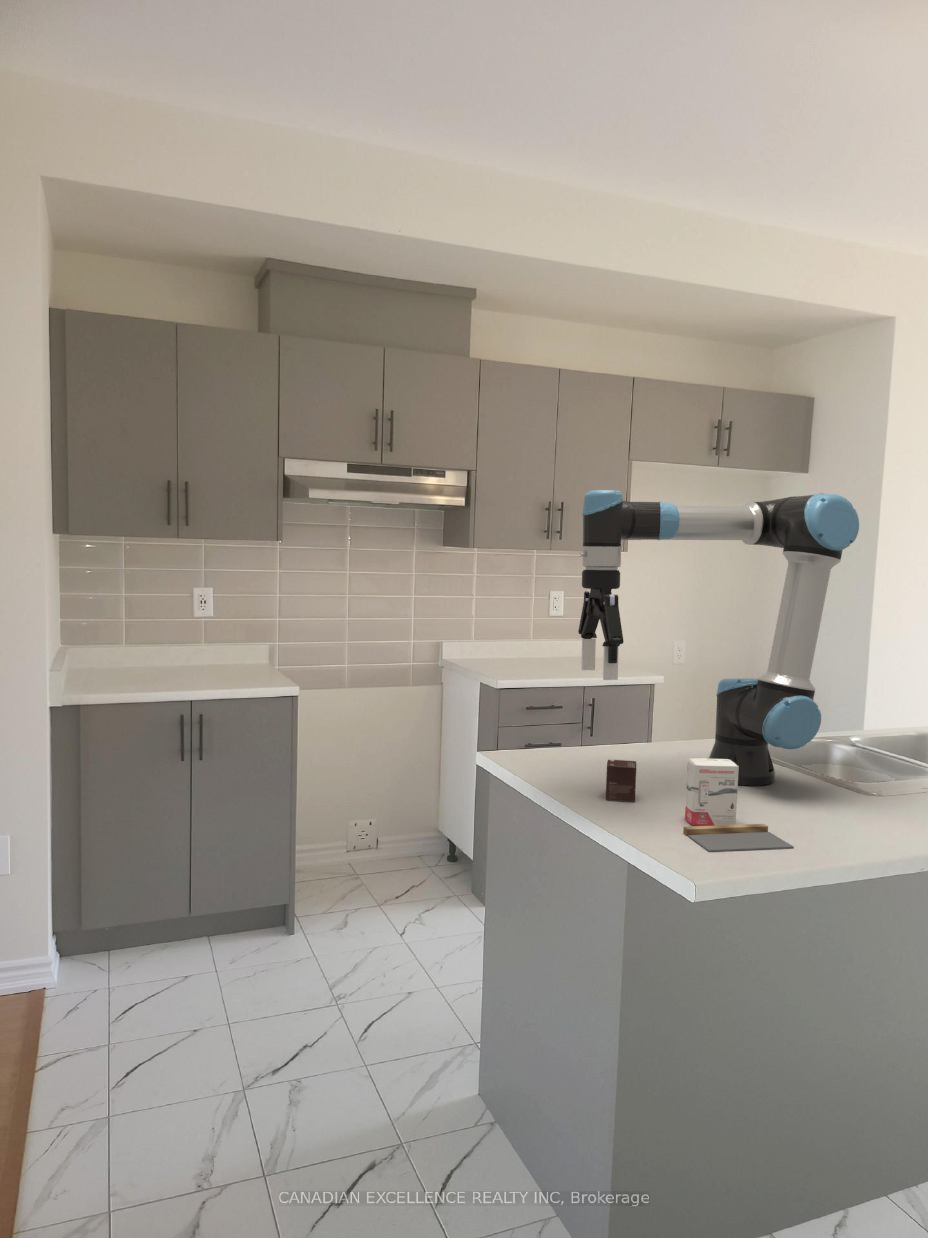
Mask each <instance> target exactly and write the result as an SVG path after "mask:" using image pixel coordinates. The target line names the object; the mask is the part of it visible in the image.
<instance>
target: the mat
mask: <svg viewBox="0 0 928 1238" xmlns="http://www.w3.org/2000/svg"><path fill="white" fill-rule="evenodd" d="M687 837H688V838H689V839H690V840H692V841H693V842H695V843H696V844H697V845H699V846H700V847H701V848H703V850H705V851H707V852H708V853H716V852H719V853H720V852H736V851H737V852H740V851H743V852H744V851H758V850H759V851H760V850H761V851H762V850H765V851H766V850H787V849H794V848H795V846H793V845H792V844H790V843H789V842H787V841H786V840H783V839H782V838H780V837H778V836H777V835H775V834H774V833H772V832H770V831H768V832H756V833H730V834H704V835H688V836H687Z"/></svg>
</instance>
